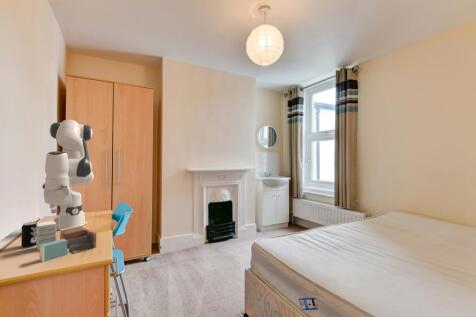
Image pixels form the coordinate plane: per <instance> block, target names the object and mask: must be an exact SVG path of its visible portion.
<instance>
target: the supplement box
mask: <svg viewBox="0 0 476 317" xmlns="http://www.w3.org/2000/svg"><path fill="white" fill-rule="evenodd" d="M53 241H57V230H56V222H54V220H51V221H49V220H48V221H44V222H37V224H36V245H35V247H36V249H37V251H38V252H40V245H41V244H45V243H49V242H53Z"/></svg>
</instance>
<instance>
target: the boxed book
mask: <svg viewBox="0 0 476 317" xmlns="http://www.w3.org/2000/svg"><path fill="white" fill-rule="evenodd" d="M67 255H68V248H67V240H65V239H61V240H60V239H58V240H57V239H56V241H53V242H49V243H45V244H41V245H40V251H39V261H40V262H42V263H44V262H48V261H51V260H54V259H55V260H56V259H58V258H62V257H65V256H67Z"/></svg>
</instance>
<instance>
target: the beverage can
mask: <svg viewBox="0 0 476 317" xmlns="http://www.w3.org/2000/svg"><path fill="white" fill-rule="evenodd" d="M37 223H38V221H29V222H24V223H22V226H21V239H20V240H21V245H20V246H21V247H22V248H24V249H26V248H31V247H36V224H37Z"/></svg>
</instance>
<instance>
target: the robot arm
mask: <svg viewBox="0 0 476 317" xmlns="http://www.w3.org/2000/svg"><path fill="white" fill-rule="evenodd" d="M48 131H49V135H50V137H52V138H53V139H55V141H56V143H57V144H58V145H59V146H60V147H62V150H61V151H60V150H59V151H57V150H56V151H55V150H54V151H50V152H49V151H48V152H47V153H46V157H45V163H44V169H45V170H44V171H45V172H44V173H45V174H46V177H45V182H44V183H43V184H42V185H41V186H42V189H43V198H44V199H43V200H44V202H45V204H47V205H49V208H50V213H51V214H56V213H57V212H58V211H57V210H58V209H57V207H58V206H59V207H60V209H59V214H58V215H56V217H55V218H53V221H54V222H55V223H56V231H60V229H65V228H70V227H75V226H79V225H80V226H82V227H83V226H85V225H86V224H88V221H86V216H85V211H83V204H82V202H83V201H82V194H81V192H80V191H78V190H74V189H72V187H73V186H74V187H75V186H84V185H89V184H92V183H93V181H94V179H95V175H94V172H93V165H92V162H91V160H90V154H89V148H88V144H87V141H88V142H89V141H90V140H91V139H92V137H93V134H94V133H93V128H92V127H91V126H90V125H87V124H81V123H78V121H76V120H74V119H65V120H62V121H61V122H60V121H58V122H53V123H52V124H51V125H50V127H49V130H48ZM56 206H57V207H56Z"/></svg>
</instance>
